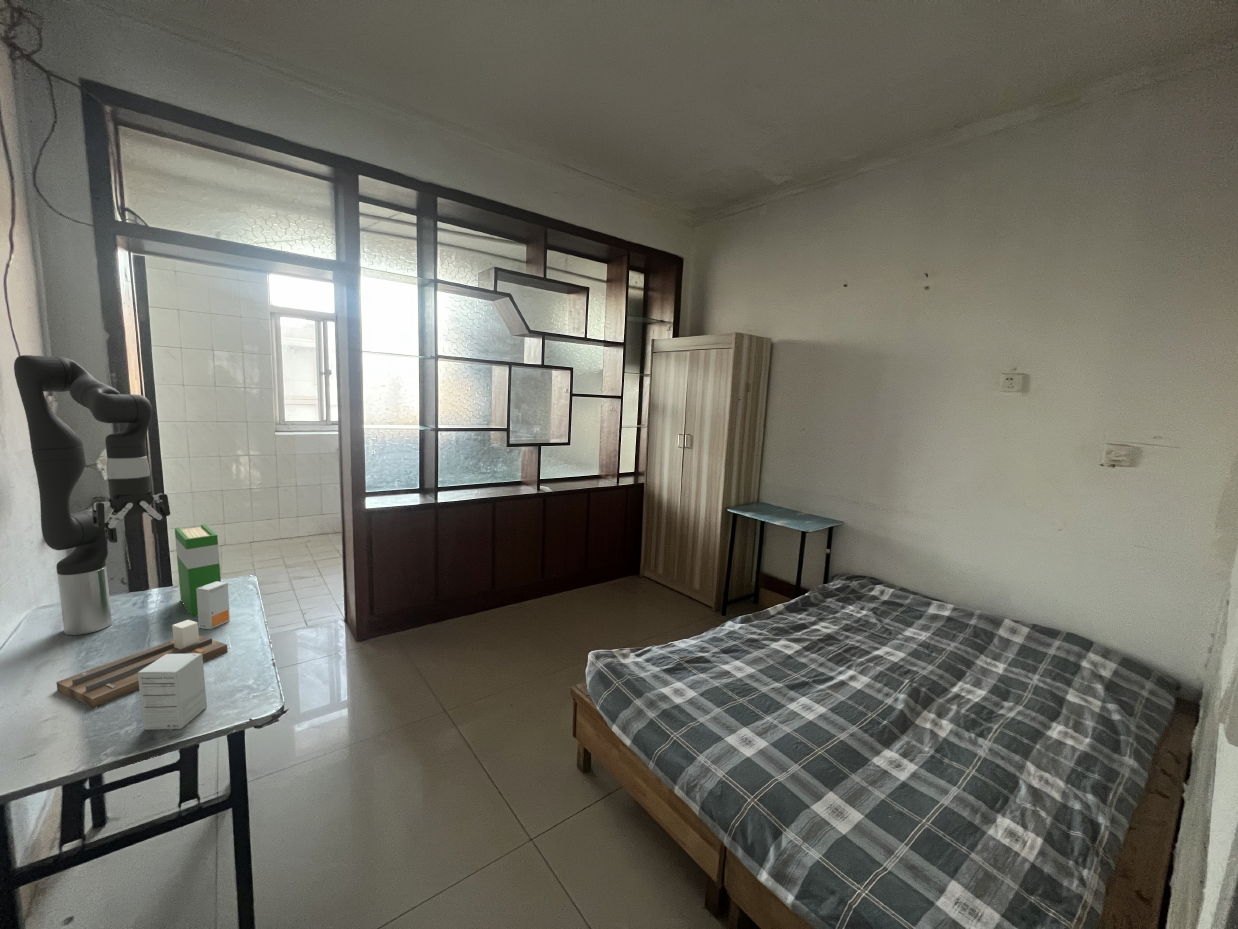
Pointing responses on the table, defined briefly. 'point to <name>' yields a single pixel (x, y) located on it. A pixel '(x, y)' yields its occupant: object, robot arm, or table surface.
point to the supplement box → (172, 691)
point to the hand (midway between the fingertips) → (135, 538)
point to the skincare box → (213, 605)
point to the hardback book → (196, 562)
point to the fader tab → (185, 634)
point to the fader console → (128, 672)
